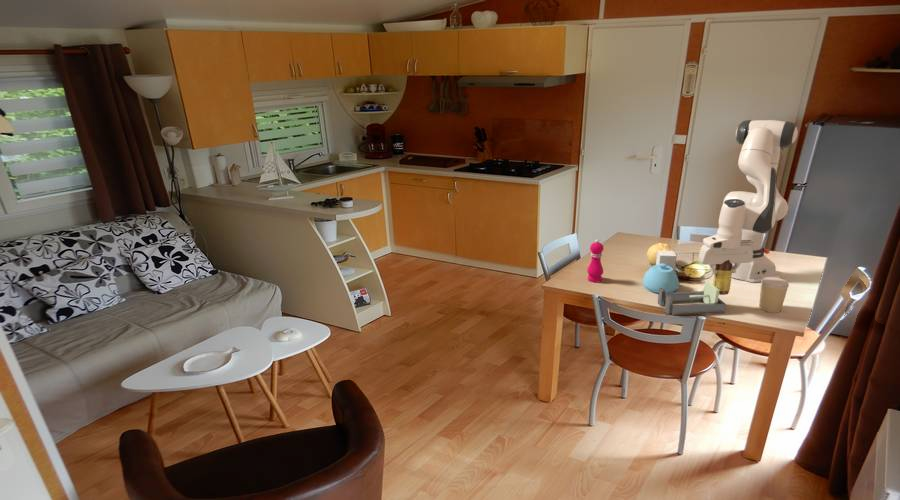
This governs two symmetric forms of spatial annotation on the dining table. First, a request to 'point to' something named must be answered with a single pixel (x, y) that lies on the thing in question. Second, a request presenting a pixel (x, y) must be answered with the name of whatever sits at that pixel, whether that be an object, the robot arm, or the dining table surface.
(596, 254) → the pepper mill
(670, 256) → the supplement box
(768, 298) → the coffee cup
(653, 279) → the blue upside-down bowl
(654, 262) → the sculpture
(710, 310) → the gray storage tray
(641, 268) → the dining table surface
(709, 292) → the pusher
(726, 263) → the sauce bottle
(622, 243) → the dining table surface
